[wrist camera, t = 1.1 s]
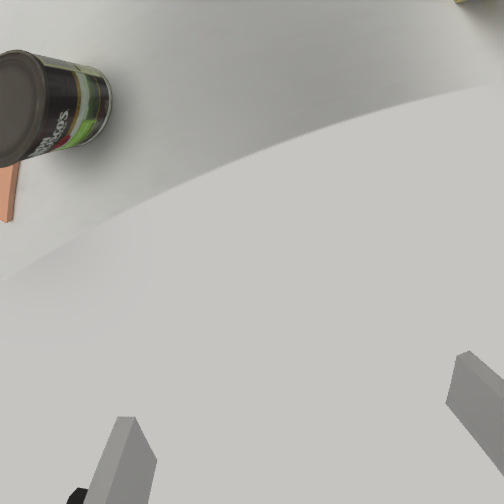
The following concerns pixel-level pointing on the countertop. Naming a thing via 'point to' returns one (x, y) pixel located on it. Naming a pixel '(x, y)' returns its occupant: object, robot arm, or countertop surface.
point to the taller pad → (8, 191)
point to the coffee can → (48, 105)
